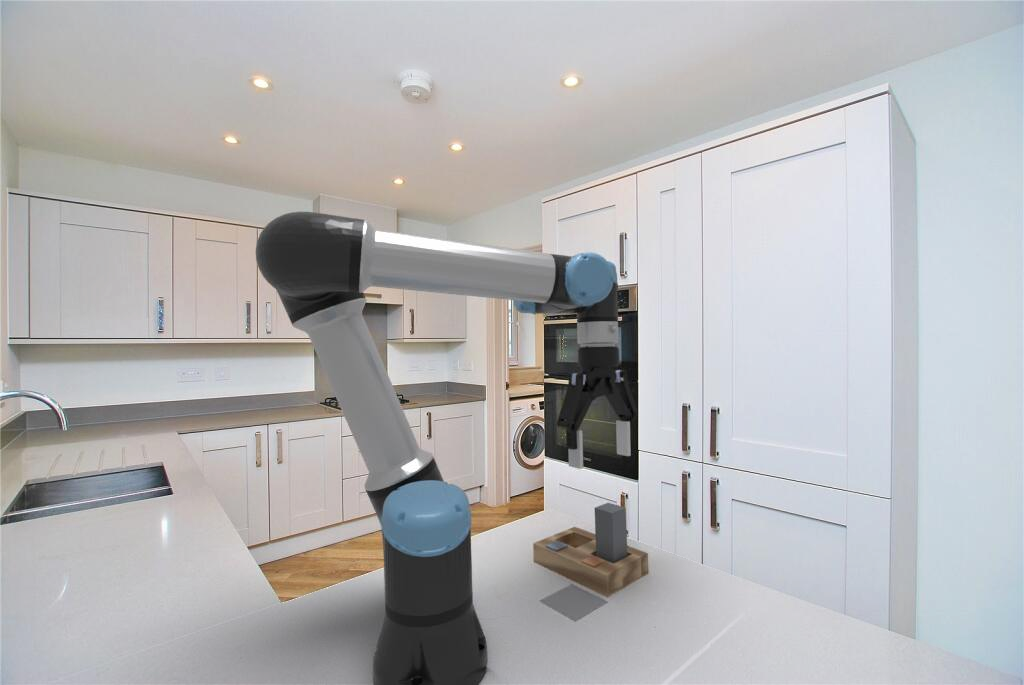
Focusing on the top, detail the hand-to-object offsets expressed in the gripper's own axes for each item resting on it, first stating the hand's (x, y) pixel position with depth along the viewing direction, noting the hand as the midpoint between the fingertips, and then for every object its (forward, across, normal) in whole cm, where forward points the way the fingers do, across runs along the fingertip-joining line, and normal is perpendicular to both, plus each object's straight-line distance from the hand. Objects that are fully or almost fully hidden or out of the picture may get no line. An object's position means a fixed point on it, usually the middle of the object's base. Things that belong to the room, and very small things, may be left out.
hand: (601, 460), depth 86 cm
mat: (+21, -11, -2) cm, 24 cm away
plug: (+21, +1, -1) cm, 21 cm away
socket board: (+21, 0, +4) cm, 21 cm away
